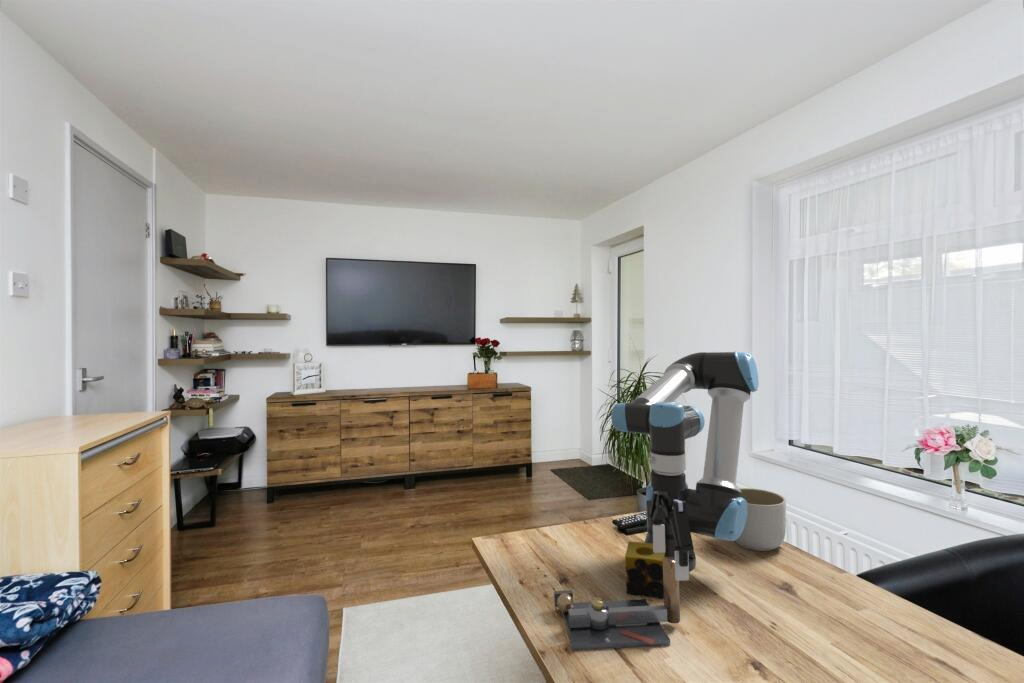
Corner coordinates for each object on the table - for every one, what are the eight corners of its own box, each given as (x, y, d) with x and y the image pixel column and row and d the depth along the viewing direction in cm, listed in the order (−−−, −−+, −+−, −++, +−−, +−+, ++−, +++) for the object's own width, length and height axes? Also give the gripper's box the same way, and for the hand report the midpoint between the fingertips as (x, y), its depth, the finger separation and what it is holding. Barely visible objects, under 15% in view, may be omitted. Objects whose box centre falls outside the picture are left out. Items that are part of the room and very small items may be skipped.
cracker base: (645, 603, 116) (644, 576, 116) (672, 649, 99) (671, 617, 99) (554, 608, 115) (553, 581, 115) (565, 655, 98) (564, 623, 98)
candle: (668, 581, 127) (667, 544, 127) (667, 601, 118) (666, 560, 118) (629, 576, 131) (628, 540, 131) (625, 594, 121) (624, 556, 121)
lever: (675, 612, 110) (673, 555, 110) (683, 624, 105) (682, 564, 105) (567, 618, 108) (566, 560, 108) (571, 631, 104) (569, 570, 104)
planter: (719, 532, 158) (718, 487, 158) (773, 534, 155) (772, 488, 155) (736, 555, 141) (734, 504, 141) (797, 557, 138) (795, 506, 138)
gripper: (634, 458, 119) (636, 542, 119) (672, 487, 95) (675, 594, 94) (663, 457, 120) (665, 541, 120) (709, 486, 95) (711, 592, 95)
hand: (669, 565), depth 107 cm, fingers open, 13 cm apart
